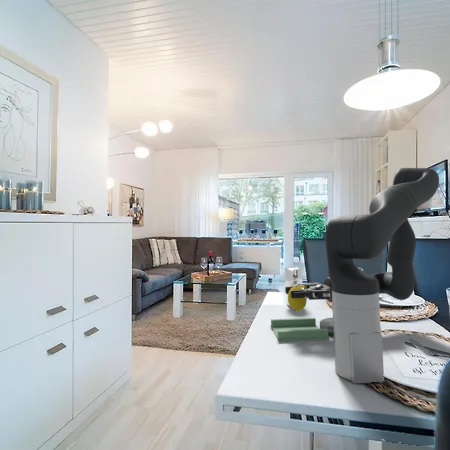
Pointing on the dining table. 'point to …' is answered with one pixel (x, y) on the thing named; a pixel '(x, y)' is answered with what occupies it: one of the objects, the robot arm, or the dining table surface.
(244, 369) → the dining table surface
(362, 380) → the robot arm
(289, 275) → the beer glass
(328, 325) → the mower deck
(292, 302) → the lemon
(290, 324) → the side chute
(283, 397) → the dining table surface
